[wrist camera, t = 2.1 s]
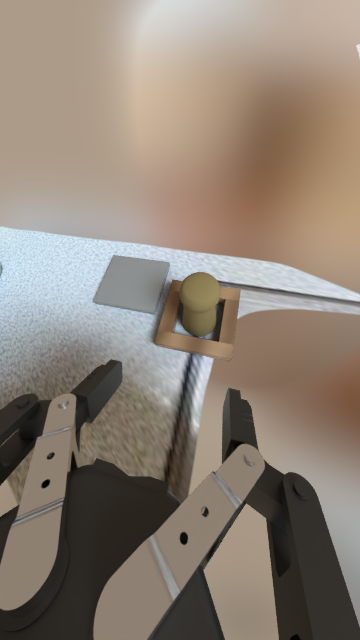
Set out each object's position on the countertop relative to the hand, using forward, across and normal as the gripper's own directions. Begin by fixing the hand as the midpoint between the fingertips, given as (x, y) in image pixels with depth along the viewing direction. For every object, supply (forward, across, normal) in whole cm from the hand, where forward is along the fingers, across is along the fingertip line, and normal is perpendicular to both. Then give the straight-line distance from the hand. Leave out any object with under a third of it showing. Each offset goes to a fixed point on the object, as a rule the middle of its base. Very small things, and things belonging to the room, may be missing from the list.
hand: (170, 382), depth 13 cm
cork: (+19, 0, +3) cm, 19 cm away
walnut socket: (+19, 0, +3) cm, 19 cm away
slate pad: (+22, +14, -1) cm, 27 cm away
